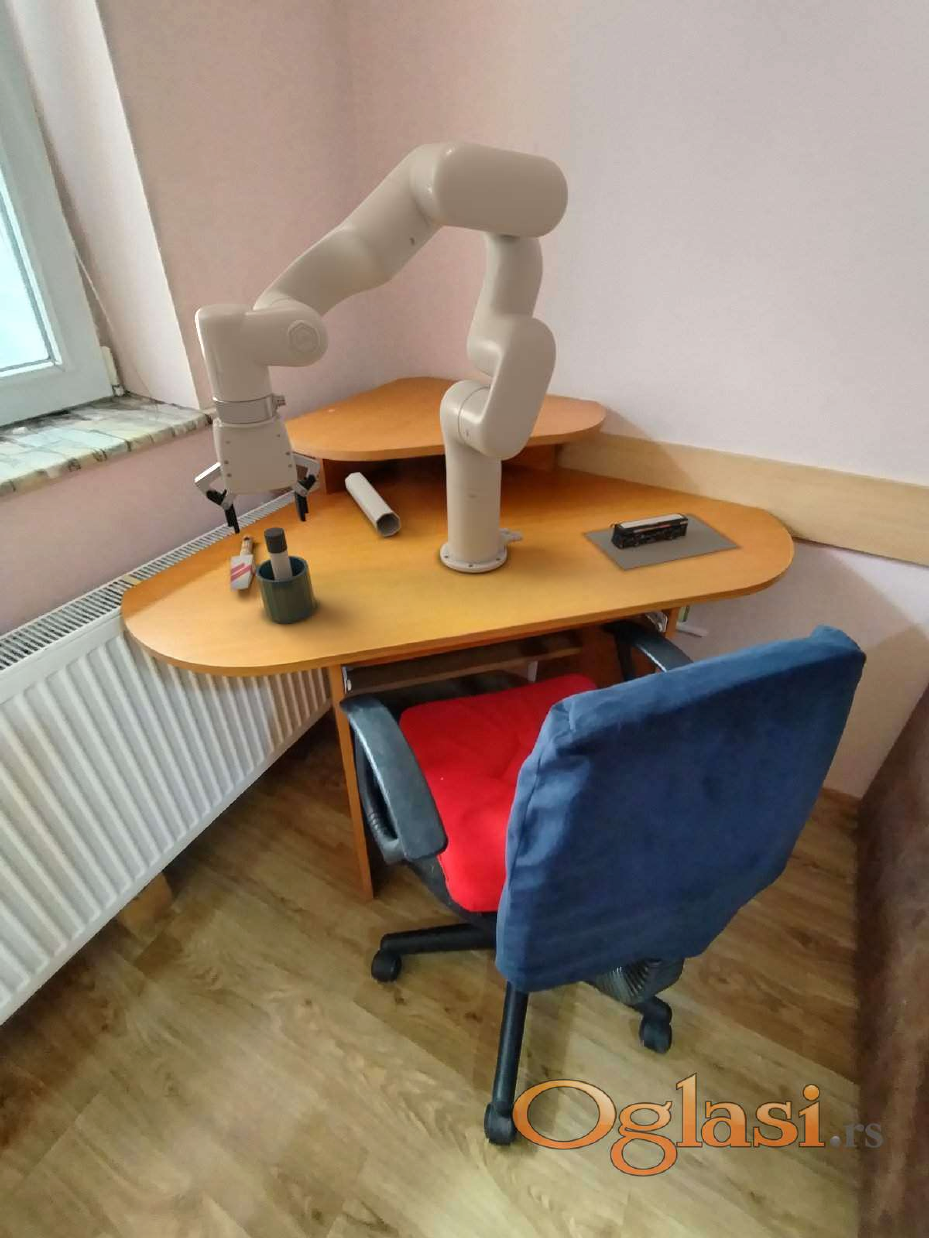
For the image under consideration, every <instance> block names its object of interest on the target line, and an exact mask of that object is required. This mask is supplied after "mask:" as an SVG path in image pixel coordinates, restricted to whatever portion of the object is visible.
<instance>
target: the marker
mask: <svg viewBox="0 0 929 1238" xmlns="http://www.w3.org/2000/svg"><path fill="white" fill-rule="evenodd" d="M263 537H264V541H265V547H266V550H267V552H268V555H269V559H270V560H271V564H272V568H273V573H274V577H275V580H285V579H289V578H292V577H293V575H292V570H291V565H290V560H289V556H290V554H289V551H288V544H287V538H286V533H285V530H284V529H283V527H277V526H276V527H275V526H274V527H269V528H267V529H265V530H264V531H263Z"/></svg>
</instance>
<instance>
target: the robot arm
mask: <svg viewBox="0 0 929 1238" xmlns="http://www.w3.org/2000/svg"><path fill="white" fill-rule="evenodd" d="M568 202H569V188H568V183H567V180H566V176H565V175H564V172H563V171H562V170H561V168H560V167H559V166H558V165H557V164H556V163H555V161H553V160H552V159H550V158H547V157H545V156H541V155H537V154H530V153H524V152H519V151H513V150H508V149H503V148H497V147H494V146H489V145H483V144H478V143H474V142H469V141H463V140H448V141H442V142H441V141H440V142H431V143H425V144H422V145H419V146H418V147H416V148H415V149H412V151H411V152H408V154H407V155H406V156H405V157H404V158H403V159H402V160H401V161H400V162H399V163H398V164H397V165H396V166H395V167H394V168H393V170H391V171H390V172H389V174H388V175H386V177H385V178H384V179H383V180H382V181H381V182H380V183H379V184H378V185H377V186H376V187H375V188H374V189H373V191H371V193H369V195H367V196H366V197H365V199H364V200H363V201H362V202H361V203H360V204H358V206H357V207H356V208H355V209H354V210H353V211H352V212H351V213H350V214H349V215H348V216H347V217H346V218H345V219H344V220H343V221H342V222H341V223H340V224H338V225H337V226H336V227H334V228H333V229H331V230H330V231H328V233H326V234H325V235H324V236H323V237H322V238H321V239H320V240H318V241H317V242H316V243H315V244H313V245H312V246H310V247H309V248H308V249H307V250H306V251H304V252H302V253H301V255H299V256H298V257H296V259H295V260H294V261H292V262H291V263H290V264H289V265H288V266H287V267H286V268H285V269H284V270H283V271H282V272H281V273H280V274H279V275H278V276H277V278H275V279H274V281H272V283H270V285H269V286H268V287H267V288H266V289H265V290H264V291H263V292H262V294H261V295H259V297H258V298H257V300H256V302H255V303H254V305H253V306H251V305H248V304H245V303H237V302H224V303H213V304H208V305H204V306H202V307H200V308H199V309H198V310H197V311H196V313H195V317H194V318H195V320H194V321H195V326H196V330H197V335H198V340H199V342H200V346H201V352H202V356H203V360H204V364H205V368H206V369H205V370H206V373H207V378H208V381H209V387H210V389H211V395H212V398H213V402H214V406H215V412H216V415H217V417H215V418H214V419H213V420H212V434H213V440H214V441H213V442H214V448H215V454H216V458H217V463H215V464H214V465H213V466H211V467H210V468H208V469H207V470H205V471H204V472H202V473H201V474H200V475H199V476H197V477H196V478H194V484H195V487H196V488H197V489H198V490H199V491H200V492H201V493H202V494H203V495H204V496H205V497H206V498H207V499H208V500H209V501H210V502H212V503H214V504H215V505H217V506H219V507H221V509H222V510H223V511H224V515H225V519H226V523H227V527H228V528H232V527H233V530H234V533H235V535H238V534H240V533H241V530H240V525H239V521H238V517H237V512H236V509H235V505H234V501H235V499H236V498H237V497H238V496H242V495H248V494H255V493H261V492H262V493H263V492H267V491H268V492H269V491H274V490H279V489H286V488H291V489H292V490H293V496H294V501H295V508H296V513H297V516H298V517H299V520H300V522H302V523H305V522H307V518H306V514H309V513H310V511H309V506H308V499H307V496H308V495H309V491H310V490H311V488H313V486H314V485H315V483H316V481H317V477H318V475H319V472H320V469H321V464H320V462H319V460H317V459H314V458H311V457H308V456H304V455H302V454H299V453H296V452H294V451H293V448H292V444H291V440H290V437H289V434H288V431H287V427H286V423H285V420H284V417H283V416H282V413H281V412H280V411H278V410H279V408H281V407H284V406H286V403H287V402H286V398H285V395H284V394H280V395H279V394H275V393H274V392H273V388H272V387H273V386H272V382H271V376H270V370H269V367H288V368H302V367H309V366H312V365H313V364H315V363H317V362H318V361H320V360H321V359H322V358H323V356H324V355H326V353H327V350H328V348H329V341H330V336H329V330H328V327H327V324H326V322H325V320H324V319H323V317H324V316H325V315H326V314H327V313H328V312H329V311H330V310H332V309H333V308H334V307H336V306H337V305H338V304H340V303H341V302H343V301H345V300H347V299H348V298H350V297H352V296H354V295H357V294H360V293H363V292H367V291H371V290H373V289H376V288H378V287H380V286H383V285H384V284H385V285H386V283H388V282H390V281H392V279H394V277H395V276H396V275H397V274H398V273H399V272H400V271H401V270H402V269H403V268H404V267H405V266H406V265H407V264H408V263H409V262H410V261H411V260H412V259H413V258H414V256H415V255H416V254H417V253H418V252H419V251H421V249H422V248H423V247H424V246H425V245H426V244H427V243H428V242H429V241H430V240H431V239H432V238H433V237H434V236H435V235H436V234H437V233H438V232H439V231H440V230H441V229H442V228H444V227H453V228H461V229H462V228H463V229H468V230H473V231H478V232H480V233H481V236H482V239H483V243H484V247H485V252H486V267H485V272H484V276H483V282H482V286H481V290H480V293H479V296H478V300H477V304H476V308H475V310H474V313H473V318H472V320H471V325H470V328H469V330H468V335H467V339H466V344H465V350H466V351H465V352H466V357H467V360H468V362H469V364H471V366H472V367H473V368H474V369H475V370H477V371H479V372H481V373H482V374H485V375H486V376H489V377H491V378H492V381H491V384H490V385H489V384H487V383H485V382H482V381H479V380H476V379H463V380H460V381H457V382H455V383H454V384H452V385H450V386H449V388H448V389H447V390H446V391H445V393H444V395H443V397H442V399H441V402H440V405H439V406H440V407H439V425H440V431H441V436H442V440H443V446H444V454H445V470H446V471H445V472H446V510H447V512H446V513H447V541H446V542H445V543H443V545H441V547H440V550H439V554H440V555H439V558H440V560H441V562H442V563H443V564H444V565H445V566H446V567H448V568H450V569H452V570H455V571H458V572H461V573H468V574H469V573H470V574H474V573H486V572H490V571H493V570H496V569H497V568H499V567H500V566H502V565H504V563H505V562H506V560H507V557H508V550H507V546H508V545H509V544H510V543H518V542H521V541H523V537H524V536H523V532H522V531H521V530H517V531H511V529H510V528H509V527H506V528H501V529H500V527H501V525H500V524H501V523H500V522H501V490H502V489H501V488H502V461H507V460H510V459H512V458H514V457H515V456H517V455H518V454H520V453H521V452H522V450H523V449H524V448H525V446H526V445H527V443H528V442H529V440H530V438H531V435H532V434H533V431H534V428H535V426H536V423H537V420H538V417H539V414H540V413H541V409H542V406H543V403H544V400H545V397H546V395H547V392H548V389H549V386H550V383H551V381H552V377H553V374H554V372H555V366H556V360H557V343H556V339H555V337H554V334H553V332H552V330H551V329H550V327H549V326H548V325H547V324H546V323H545V322H543V321H542V320H540V319H539V318H536V317H534V312H535V309H536V305H537V301H538V297H539V294H540V290H541V286H542V282H543V277H544V276H543V275H544V258H543V251H542V246H541V242H540V239H539V238H540V237H544V236H546V235H548V234H550V233H551V232H552V231H553V230H555V229H556V228H557V227H558V226H559V224H560V223H561V221H562V219H563V218H564V216H565V214H566V211H567V206H568ZM297 466H300V467H302V468H303V467H304V468H306V469H307V472H306V474H305V475H304V476H303V477H302V478H301V480H300V479H299V478H298V471H297ZM219 477H221V480H222V482H223V485H224V488H223V490H222V491H221V492H219V491H218V490H216V489H214V488H213V487H212V486H211V485H210V484H211V483H212V482H213V481H215V480H216V479H218V478H219Z"/></svg>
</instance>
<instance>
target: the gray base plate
mask: <svg viewBox="0 0 929 1238" xmlns="http://www.w3.org/2000/svg"><path fill="white" fill-rule="evenodd" d="M613 526H614V527H613ZM609 528H610V529H606V530H600V531H595V532H589V533H586V534H585V535H586V536H587V537H588V538H589V539H591V540H592V541H593V542H594V543H595V544H596V545H597V546H598V548H600V549H601V550H602V551H603V552H605V553H606V555H608V556H609V557H610V558H611V559H612V560H613V561H614V562H615V563H616V564H617V565H619V566H620V567H621V568H622V570H629V569H635V568H639V567H645V566H650V565H655V564H659V563H664V562H669V561H675V560H680V559H685V558H690V557H694V556H700V555H705V554H710V553H714V552H715V553H716V552H719V551H725V550H730V549H735V548H738V546H737V545H736V544H734V543H733V542H731V540H729V539H727V538H725V537H724V536H723V535H721V534H720V533H719V532H717V531H716V530H714V529H712V528H711V527H709V526H708V525H707V524H705V523H704V522H702V521H701V520H699V518H697V517H695V516H694V515H692V514H691V515H683V513H680V512H676V513H670V514H664V515H658V516H653V517H649V518H641V519H636V520H631V521H624V522H619V523H611V524H610V527H609Z"/></svg>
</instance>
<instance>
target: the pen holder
mask: <svg viewBox="0 0 929 1238" xmlns="http://www.w3.org/2000/svg"><path fill="white" fill-rule="evenodd" d="M289 560H290V565H291V570H292V575H293V577H292V578H289V579H285V580H275V577H274V573H273V568H272V564H271V560H270V558H268V559H267V560H265V561H263V562H261V563H260V564H259V565H257V566H256V570H255V572H254V573H255V576H256V580H257V584H258V588H259V592H260V596H261V600H262V604H263V607H264V612H265V615H266V617H267V619H268V620H269V621H271V622H274V623H276V624H283V625H284V624H294V623H298V622H301V621H304V620H306V619H308V618H309V617H310V616H312V614H313V613H314V612H315V610H316V601H315V600H316V599H315V594H314V589H313V584H312V579H311V575H310V574H311V573H310V568H309V564H308V561H307V560H306V559H304V558H302V557H301V556H295V555H289Z"/></svg>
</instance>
